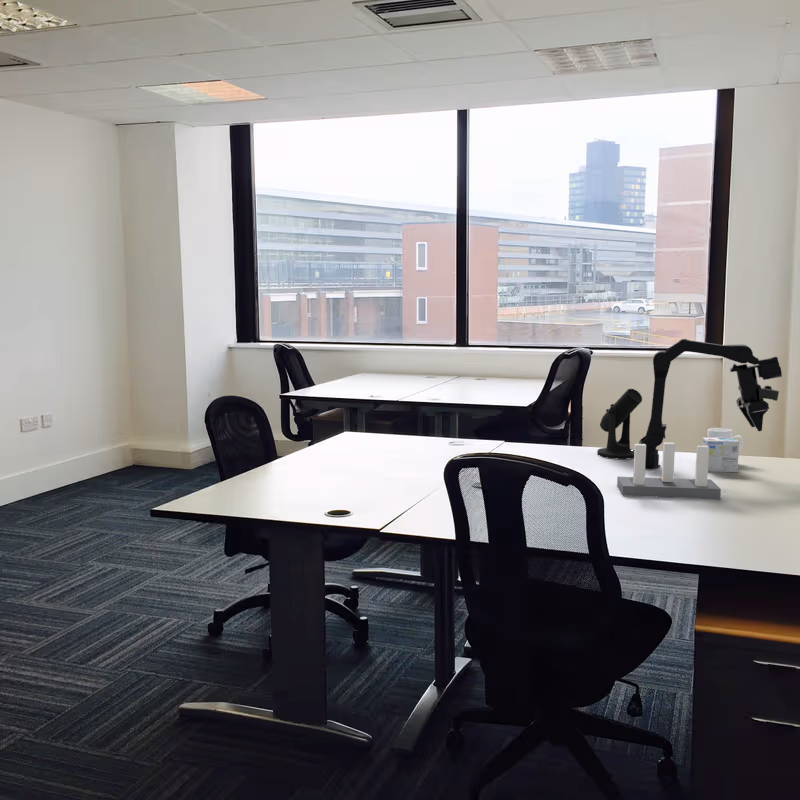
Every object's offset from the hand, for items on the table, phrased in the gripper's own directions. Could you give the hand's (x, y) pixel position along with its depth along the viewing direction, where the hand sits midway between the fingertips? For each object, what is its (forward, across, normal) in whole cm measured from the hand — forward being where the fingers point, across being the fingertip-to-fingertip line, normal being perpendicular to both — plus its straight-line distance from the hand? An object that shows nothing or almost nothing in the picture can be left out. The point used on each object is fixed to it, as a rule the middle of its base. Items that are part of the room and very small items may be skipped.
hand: (756, 429), depth 276 cm
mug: (+13, +18, +9) cm, 24 cm away
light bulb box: (+12, +4, +14) cm, 19 cm away
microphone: (+5, +22, +44) cm, 50 cm away
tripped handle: (+5, -30, +34) cm, 46 cm away
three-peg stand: (+8, -31, +34) cm, 47 cm away
